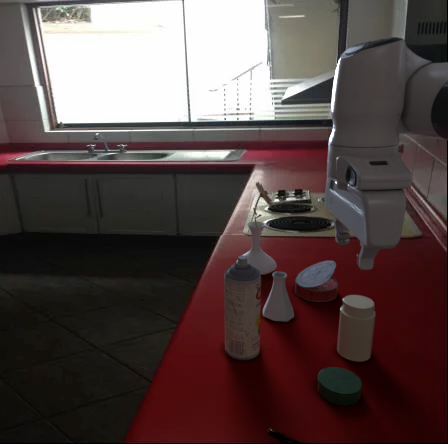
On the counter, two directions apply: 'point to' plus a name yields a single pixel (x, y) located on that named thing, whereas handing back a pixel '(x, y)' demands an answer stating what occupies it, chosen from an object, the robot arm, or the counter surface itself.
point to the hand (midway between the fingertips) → (352, 254)
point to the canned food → (317, 282)
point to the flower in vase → (256, 254)
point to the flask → (278, 300)
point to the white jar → (356, 328)
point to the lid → (339, 386)
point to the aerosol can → (242, 310)
